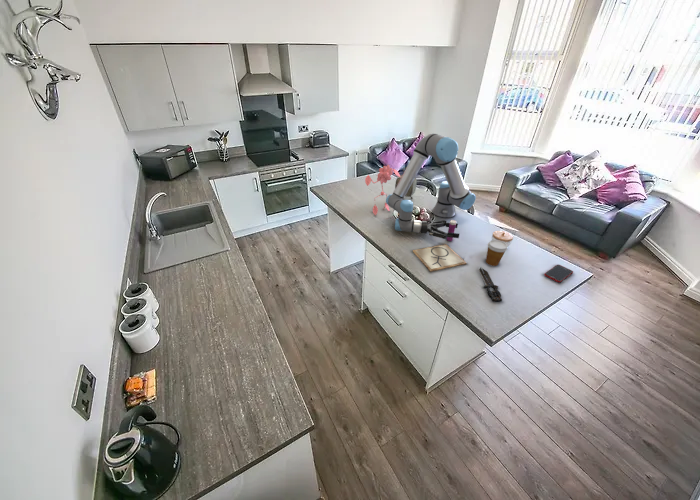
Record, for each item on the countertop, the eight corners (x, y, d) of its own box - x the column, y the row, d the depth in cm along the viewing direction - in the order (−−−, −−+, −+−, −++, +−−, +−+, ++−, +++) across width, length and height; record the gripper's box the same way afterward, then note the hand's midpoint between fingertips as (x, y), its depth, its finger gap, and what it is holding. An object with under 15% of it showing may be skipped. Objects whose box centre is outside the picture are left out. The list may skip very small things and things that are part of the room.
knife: (477, 268, 152) (477, 266, 152) (490, 269, 152) (490, 267, 151) (488, 301, 132) (489, 299, 131) (503, 302, 131) (504, 300, 130)
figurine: (362, 214, 205) (363, 165, 185) (391, 206, 215) (395, 159, 195) (373, 223, 194) (375, 172, 174) (404, 215, 204) (409, 165, 184)
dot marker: (450, 238, 177) (454, 219, 170) (453, 241, 174) (457, 222, 167) (444, 239, 176) (448, 220, 169) (448, 242, 174) (452, 223, 166)
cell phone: (573, 272, 148) (574, 271, 148) (559, 283, 142) (560, 281, 141) (557, 265, 154) (558, 263, 153) (543, 275, 147) (543, 273, 146)
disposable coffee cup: (500, 259, 159) (507, 241, 152) (502, 269, 151) (509, 250, 144) (482, 256, 161) (487, 238, 155) (482, 266, 154) (488, 247, 147)
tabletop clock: (414, 198, 226) (418, 167, 212) (410, 203, 220) (414, 171, 206) (397, 195, 233) (400, 164, 219) (393, 199, 226) (395, 167, 212)
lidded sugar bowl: (493, 239, 176) (498, 226, 170) (512, 246, 169) (517, 232, 164) (486, 246, 169) (490, 232, 164) (504, 253, 163) (509, 239, 158)
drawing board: (445, 245, 171) (446, 243, 170) (466, 264, 155) (466, 262, 155) (412, 251, 166) (412, 249, 165) (430, 272, 150) (430, 270, 149)
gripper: (420, 223, 186) (455, 226, 182) (419, 242, 167) (458, 246, 163) (421, 212, 182) (457, 216, 178) (421, 231, 163) (461, 235, 159)
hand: (458, 230), depth 171 cm, fingers open, 11 cm apart
